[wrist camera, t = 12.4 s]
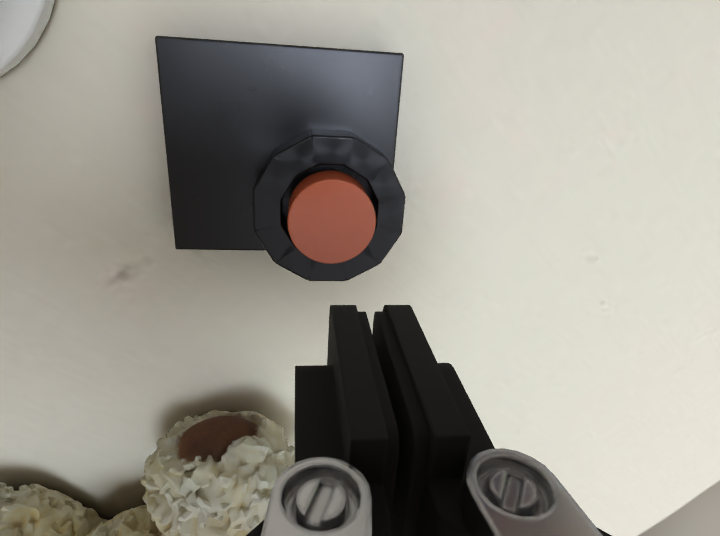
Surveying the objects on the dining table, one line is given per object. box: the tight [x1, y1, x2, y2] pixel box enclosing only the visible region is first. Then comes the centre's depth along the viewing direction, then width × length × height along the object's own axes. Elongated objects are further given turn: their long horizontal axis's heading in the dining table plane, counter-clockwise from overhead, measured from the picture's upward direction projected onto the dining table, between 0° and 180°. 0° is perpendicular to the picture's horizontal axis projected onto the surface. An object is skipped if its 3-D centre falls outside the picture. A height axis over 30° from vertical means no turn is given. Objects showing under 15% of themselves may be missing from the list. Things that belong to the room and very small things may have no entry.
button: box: [287, 170, 376, 264], centre depth 20 cm, size 4×4×2 cm
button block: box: [155, 36, 405, 281], centre depth 21 cm, size 10×10×4 cm
